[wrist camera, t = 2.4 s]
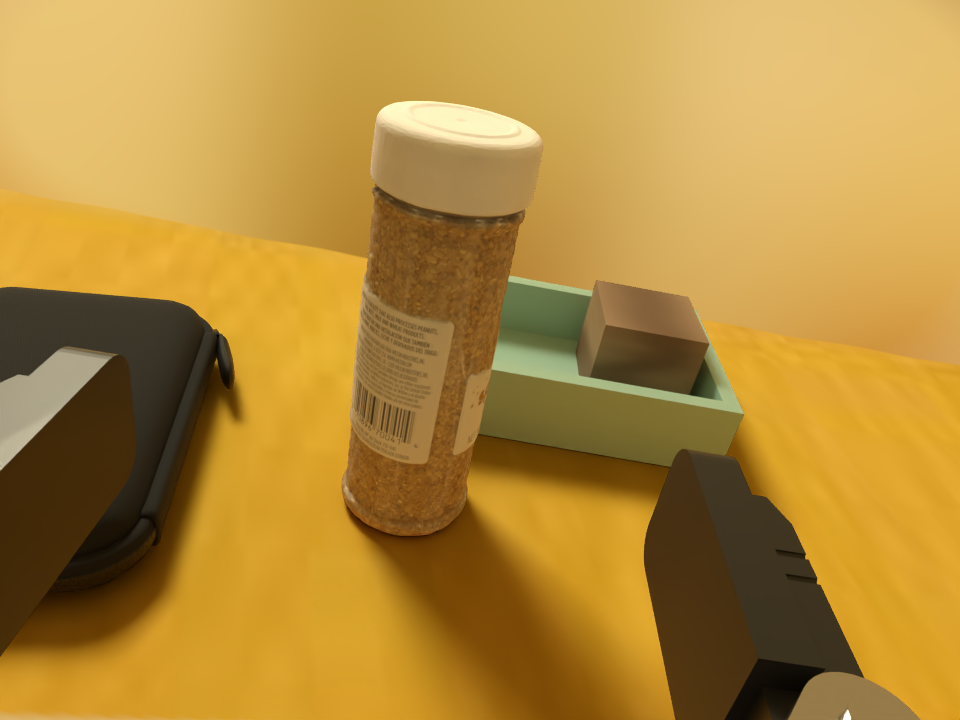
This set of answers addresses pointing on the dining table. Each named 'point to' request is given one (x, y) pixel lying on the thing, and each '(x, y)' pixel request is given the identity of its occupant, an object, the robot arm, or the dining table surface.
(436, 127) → the sprinkles bottle
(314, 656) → the dining table surface
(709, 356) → the tray
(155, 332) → the carrying case or bag
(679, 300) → the copper block
